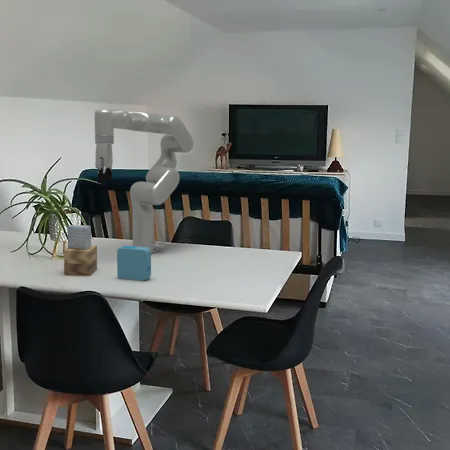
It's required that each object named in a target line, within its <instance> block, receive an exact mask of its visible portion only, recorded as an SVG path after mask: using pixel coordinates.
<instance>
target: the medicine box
mask: <svg viewBox="0 0 450 450" xmlns="http://www.w3.org/2000/svg"><path fill="white" fill-rule="evenodd" d="M91 228H92V227H91V225H83V224H82V225H81V224H79V225H78V224H71V225H68V226H67V228H66V229H67V232H66V233H67V248H73V249H89V248H91V246H92V230H91Z"/></svg>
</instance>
